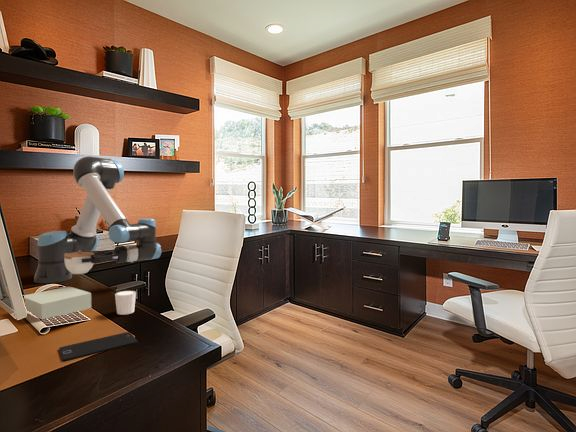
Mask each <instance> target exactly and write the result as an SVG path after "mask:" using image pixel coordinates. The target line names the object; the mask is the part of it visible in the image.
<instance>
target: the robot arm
mask: <svg viewBox="0 0 576 432" xmlns="http://www.w3.org/2000/svg"><path fill="white" fill-rule="evenodd" d="M122 165H123V164H121V163H120V162H119V161H118V160H116V159H112V158H105V157H104V158H103V157H97V156H90V155H89V156H83V157H80V159H78V160H77V161H76V162H75V163H74V165H73V171H72V172H73V177H74V180H75V181H76V183H77V185H78V186H79V188H83V189H84V191H85V192H86V196H85V199H84V202H83V205H82V207H81V210H80V212H79V213H80V214H79V216H78V219H77V221H76V224H75V225H73V226H71V228H70V231H69V232H68V231H66V230H56V231H48V232H44V233H41V234H40V235H38V236H37V237H38V238H37V260H38V265H37V268H36V271H35V273H34V277H33V283H36V284H54V283H55V284H56V283H61V282H65V281H66V282H67V281H69V280H71V279H72V277H73V274H71V272H69V271H68V270H67V269H66V267H65V262H64V255H65V254H67V253H73V252H78V250H81V252H93V253H94V255H91V258H90V256H86V257H75V258H71V265H75V264H85V263H90V262H91V263H93V264H96V265H97V264H101V263H102V264H103V263H107V262H112V261H113V262H114V261H115V263H117V264H120V263H125V262H127V263H134V262H137V261H138V262H139V261H140V262H141V261H147V260H148V261H149V260H150V261H151V260H154V259H155V260H156V259H159V258H160V257H161V255H162V248H161V247H162V246H161V244H160V243H159V242H157V241H156V236H157V235H156V233H157V227H156V225H157V223H156V220H155V219H154V218H149V217H148V218H139V219H138V222H137V223H130V222H129V221H128V219H127V218H126V216H125V214H124V213H123V211H122V210H121V209H120V208H119V205H118V204H117V203H116V202H115V200H114V199H113V197H112V195H111V194H110V191H111V190H113V189H114V188H115V186H116V184H120V182H122V181H123V179H124V176H125V175H124V174H125V171H124V167H123V166H122ZM100 217H102V218H103V219H104V221H105V223H106V224H107V226H108V227H109V229H108V238H109V239H110V240H111V242H113V243H127V242H132V241H133V242H134V241H137V242H138V244H125V245H116V246H115V247H114V249H113V250H110V249H105V250H104V249H103V250H96V249H97V248H98V245H99V235H98V233H97V231H96V227H97V224H98V221H99V218H100Z"/></svg>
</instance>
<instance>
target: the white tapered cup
mask: <svg viewBox="0 0 576 432" xmlns="http://www.w3.org/2000/svg"><path fill="white" fill-rule="evenodd" d="M136 295H137V291H135V290H123V291H117V292H116V293H115V294H114V298H115V306H116V307H115V309H116V314H117V315H121V316H122V315H124V316H125V315H129V314H133V313H134V312H135V307H136V305H135V304H136V299H137V298H136Z"/></svg>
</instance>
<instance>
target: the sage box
mask: <svg viewBox="0 0 576 432" xmlns="http://www.w3.org/2000/svg"><path fill="white" fill-rule="evenodd" d="M23 296H24V299H25V305H26V309H27V311H29V312H31V313H32V314H33V315H35V316H36V317H38V318H40V319H45V318H50V317H55V316H59V317H61V316H60V315H63V316H66V315H65V314H67V315H69V313H70V314H74V313H78V312H81V311H85V310H89V309H92V293H91V292H90V291H86V290H83V289H79V288H77V287H72V286H68V285H67V286H64V287H60V288H55V289H54V288H53V289H48V290H43V291H39V292H35V293H30V294H23ZM73 312H74V313H73ZM55 318H56V317H55Z"/></svg>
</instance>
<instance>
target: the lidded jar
mask: <svg viewBox="0 0 576 432" xmlns="http://www.w3.org/2000/svg"><path fill="white" fill-rule="evenodd" d="M91 255H94V253H93V252H81V250H78V252H73V253H67V254H65V255H64V262H65V267H66V269H67V270H68V271H69V272H71V274H72V275H83V274H88V273H89V271H90V270H91V269H92V268H93V266H94V263H91V262H90V263H85V264H75V265H71V258H75V257H86V256H90V258H91Z"/></svg>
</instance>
